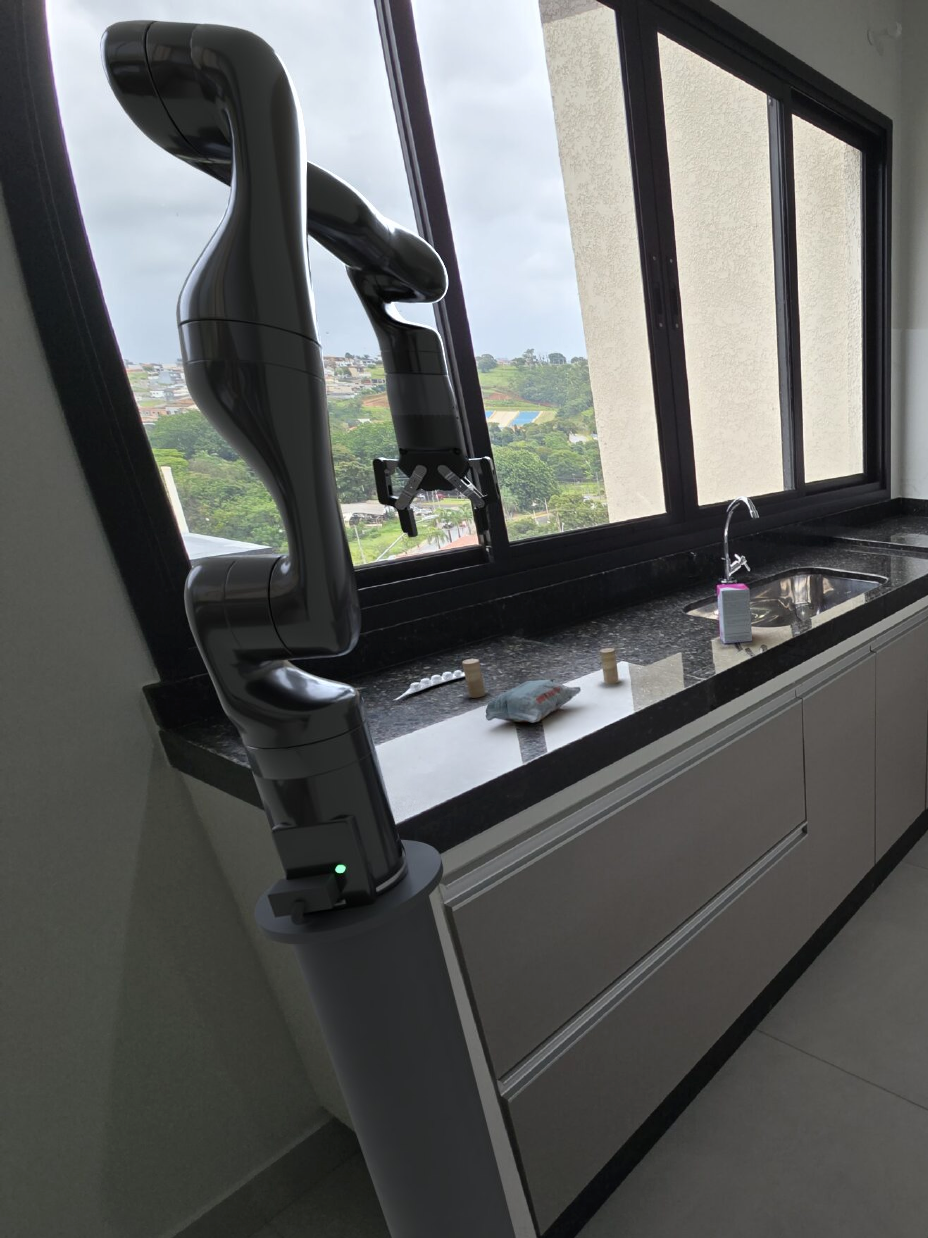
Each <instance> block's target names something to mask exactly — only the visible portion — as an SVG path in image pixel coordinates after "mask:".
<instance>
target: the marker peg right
mask: <svg viewBox="0 0 928 1238" xmlns="http://www.w3.org/2000/svg"><path fill="white" fill-rule="evenodd" d="M599 654H600V660H601V668H602V669H601V670H602V677H603V683H604V685H615V684H618V683H619V682H620V678H619V671H618V670H619V669H618V663H617V656H616V654H617V653H616V649H615V648H612V647H606V648H602V649H600V650H599Z"/></svg>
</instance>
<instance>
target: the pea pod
mask: <svg viewBox="0 0 928 1238" xmlns="http://www.w3.org/2000/svg"><path fill="white" fill-rule="evenodd" d="M460 678H465V674H464V671H462V670H460V669H457V670H455V671H453V673H452V671H444V672H443V673H442V675H440V674H434V675H432V676H431V677H430V678H428V677H424V678H422V679H420V681H419V682H412V683H410V685H409V688H408V689H407V690H406V691H405V692H404V693H403V694H401V695H400V696H398V697H397V698H395V699H394V701H395V702H396V701H398V700H401V699H402V698H404V697H406V696H408V695H411V694H415V693H417V692H420V691H423V690H425V689H428V688H430V687H433V686H434V687H435V686H437V685H440V684H443V683H447V682H449V681H453V680H456V679H460Z"/></svg>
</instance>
